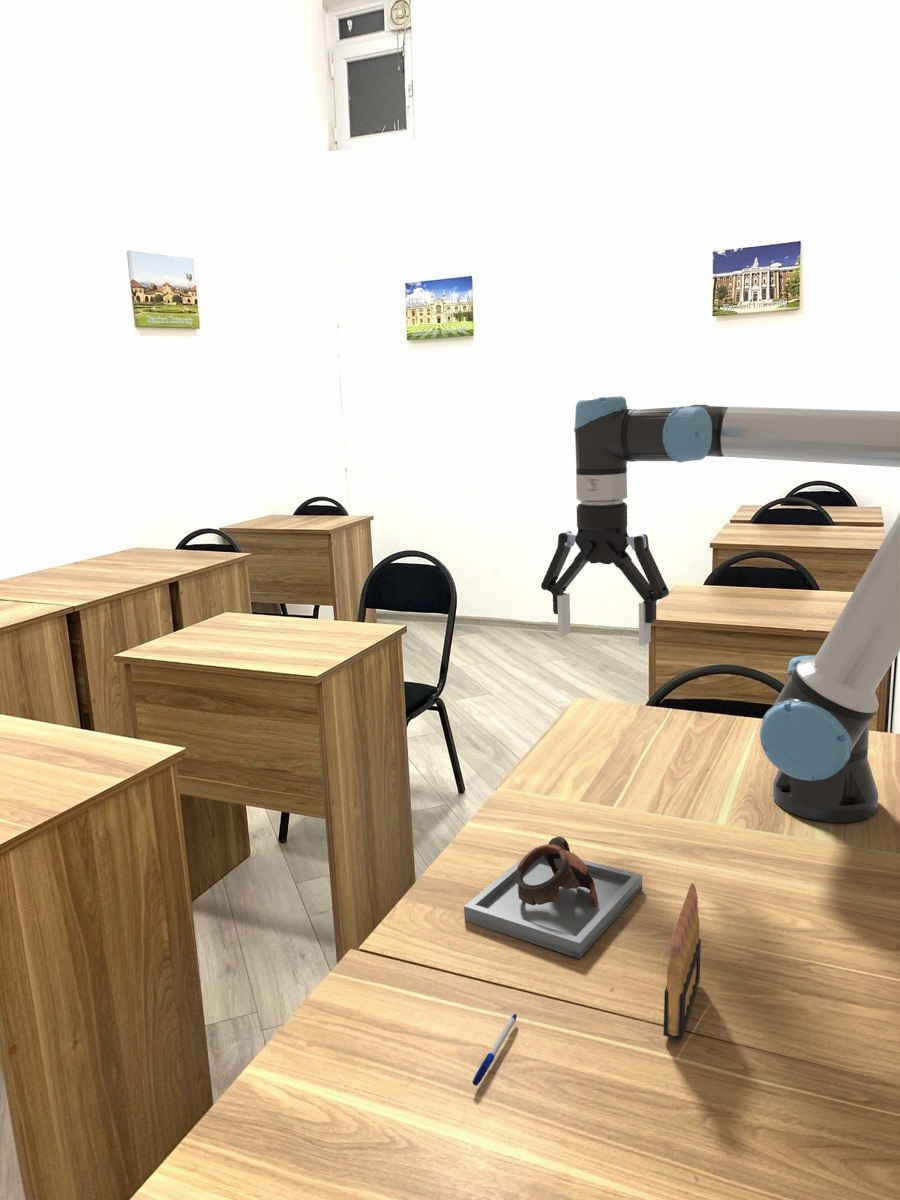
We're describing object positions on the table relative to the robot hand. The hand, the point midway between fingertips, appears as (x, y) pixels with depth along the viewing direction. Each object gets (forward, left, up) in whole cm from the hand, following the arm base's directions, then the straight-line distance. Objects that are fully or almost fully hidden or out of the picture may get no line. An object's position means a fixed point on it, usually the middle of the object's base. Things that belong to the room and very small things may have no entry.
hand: (603, 639), depth 143 cm
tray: (-8, +32, -27) cm, 42 cm away
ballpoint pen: (-16, +59, -27) cm, 67 cm away
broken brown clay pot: (-8, +32, -26) cm, 42 cm away
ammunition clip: (-29, +43, -27) cm, 59 cm away
